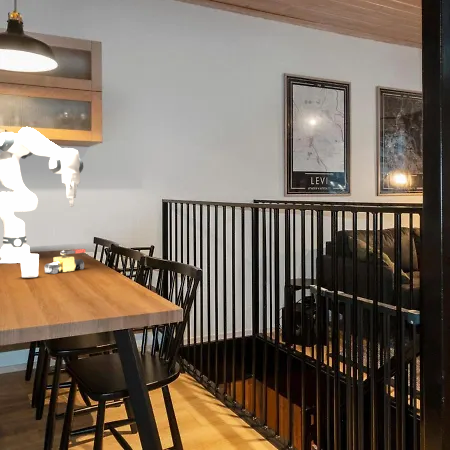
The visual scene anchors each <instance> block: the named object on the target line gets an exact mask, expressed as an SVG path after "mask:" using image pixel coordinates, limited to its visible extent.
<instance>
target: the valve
mask: <svg viewBox="0 0 450 450" xmlns="http://www.w3.org/2000/svg"><path fill="white" fill-rule="evenodd" d="M52 258H53V262H50V263H46V264H44V273H45V274H49V275H57V274H60V273H68V272H73V271H74V272H75V271H76V270H84V269H85V262H84V259H82V258H78V259H75V256H69V255H61V256H54V257H52Z"/></svg>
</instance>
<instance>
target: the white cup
mask: <svg viewBox="0 0 450 450" xmlns="http://www.w3.org/2000/svg"><path fill="white" fill-rule="evenodd" d="M39 258H40V254H38V253H30V254H23V255H20V270H21V278H24V279H25V278H26V279H29V278H37V277H39V264H40V263H39V261H40V260H39Z"/></svg>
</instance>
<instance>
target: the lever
mask: <svg viewBox="0 0 450 450" xmlns="http://www.w3.org/2000/svg"><path fill="white" fill-rule="evenodd" d="M59 252H60V254H59V255H61V256H62V255H66V256H68V255H70V254H71V255H72V254H82V253H84V254H85V253H86V249H85V248H77V249H72V250H61V251H59Z"/></svg>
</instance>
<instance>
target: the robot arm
mask: <svg viewBox="0 0 450 450" xmlns="http://www.w3.org/2000/svg"><path fill="white" fill-rule="evenodd" d="M0 151H2V152H0V183H1V185H2V186H4V187H5V188H7V189H9V190H10V191H7V192H6V191H1V192H0V220H1V222H2V229H3V237H2V243H3V244H2V245H1V248H0V264H17V263H18V264H21V262H20V255H23V254H31V251H30V245H28V243H27V240H28V239H27V236H26V223H25V221H24V220H22V219H21V218H19V217H17V216H15V214H14V213H17V212H19V213H20V212H31V211H35V210H36V209H37V208H38V205H39V199H38V197H37V195H36V194H35V193H33V192H32V191H31V190H29V189H28V187H27V186H26V185H25V183H24V181H23V177H22V173H21V171H22V170H21V166H20V159H23V160H25V159H27V158H28V157H31V156H32V155H35V156H40V157H48V158H49V159H48V169H49V171H50V172H51V173H52V174H57V175H61V183H62V184H64V187H66V198H67V199H68V201H69V202H68V203H69V208H73V207H74V206H75V205H74V204H75V203H74V201H75V198H77V197H76V196H77V188H78V184H81V174H82V172H83V170H84V162H83V160H82V159H81V158H80V153H79V151H78V149H76V148H71V147H69V148H68V147H64V148H62V147H60V146H59V145H57V144H55V143H54V142H52V141H50V140H49V139H48V138H46V137H45V136H44V135H43V134H41V133H40V132H39V131H37V130H36V129H34V128H33V127H32V128H31V127H28V126H26V127H22V128H21V129H20V130H19V131H18V133H14V132H13V131H3V132H0Z"/></svg>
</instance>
